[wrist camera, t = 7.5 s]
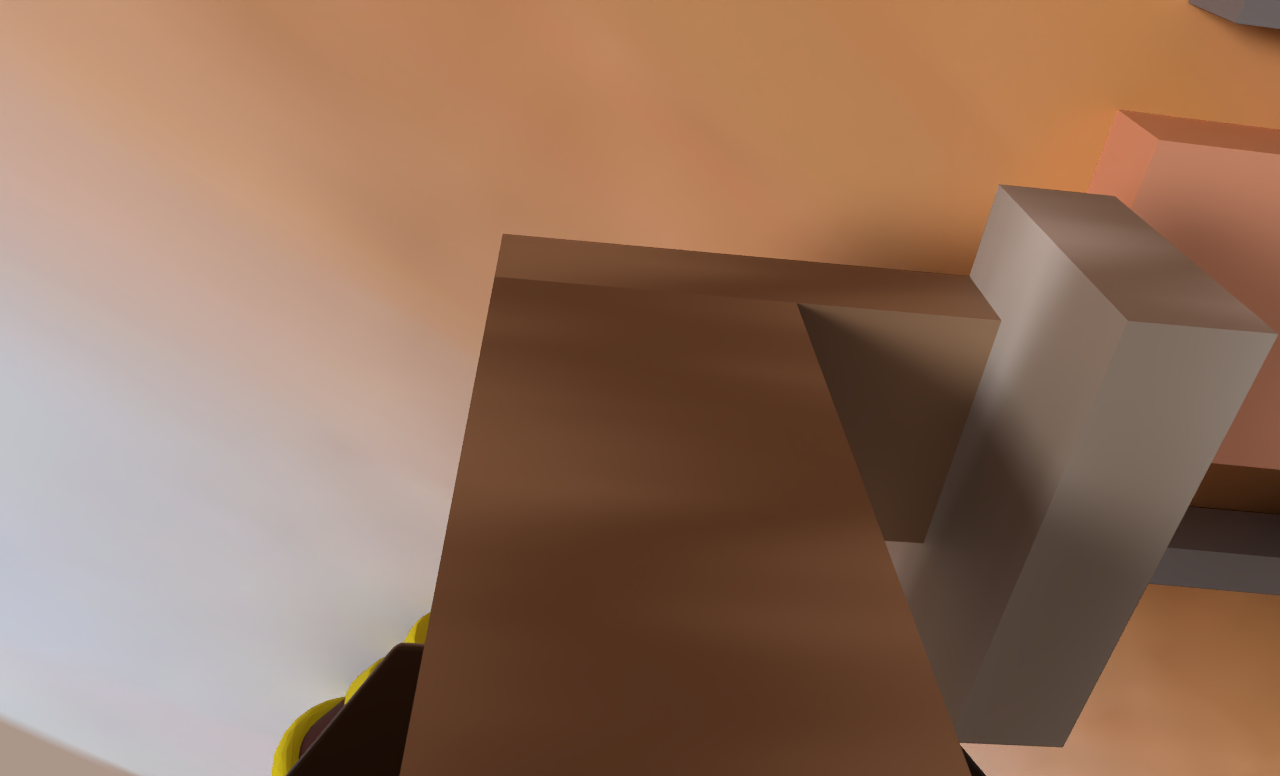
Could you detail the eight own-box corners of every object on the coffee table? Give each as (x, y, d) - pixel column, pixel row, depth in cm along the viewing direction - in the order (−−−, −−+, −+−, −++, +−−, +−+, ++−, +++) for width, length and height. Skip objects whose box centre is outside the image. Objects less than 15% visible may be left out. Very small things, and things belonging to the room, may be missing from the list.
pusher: (1115, 196, 12) (1944, 898, 5) (973, 559, 16) (1337, 1326, 8) (507, 135, 12) (345, 845, 4) (489, 528, 15) (379, 1339, 7)
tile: (1428, 141, 18) (1512, 182, 16) (1274, 417, 21) (1330, 474, 19) (1108, 102, 17) (1159, 139, 16) (1001, 389, 21) (1033, 445, 19)
